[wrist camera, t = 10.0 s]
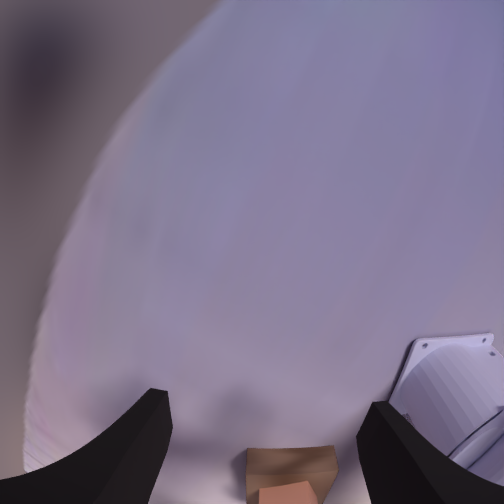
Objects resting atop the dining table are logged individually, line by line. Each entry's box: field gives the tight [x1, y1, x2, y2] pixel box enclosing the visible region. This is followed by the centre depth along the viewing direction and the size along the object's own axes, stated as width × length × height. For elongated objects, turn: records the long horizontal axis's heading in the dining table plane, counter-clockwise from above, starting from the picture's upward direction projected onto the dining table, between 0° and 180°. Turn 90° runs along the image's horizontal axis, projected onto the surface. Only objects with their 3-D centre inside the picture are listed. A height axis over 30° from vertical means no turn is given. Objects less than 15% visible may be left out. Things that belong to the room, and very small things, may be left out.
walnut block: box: [246, 445, 339, 504], centre depth 22 cm, size 8×8×4 cm
